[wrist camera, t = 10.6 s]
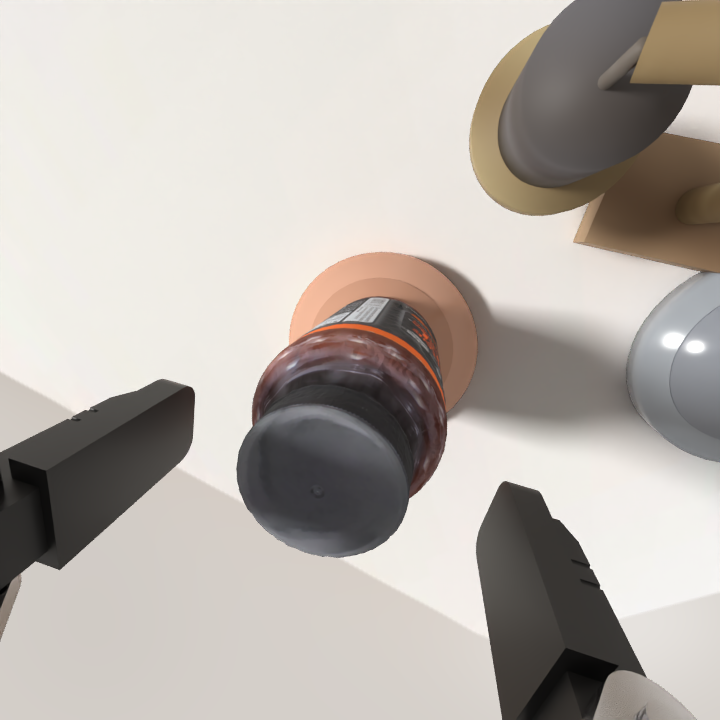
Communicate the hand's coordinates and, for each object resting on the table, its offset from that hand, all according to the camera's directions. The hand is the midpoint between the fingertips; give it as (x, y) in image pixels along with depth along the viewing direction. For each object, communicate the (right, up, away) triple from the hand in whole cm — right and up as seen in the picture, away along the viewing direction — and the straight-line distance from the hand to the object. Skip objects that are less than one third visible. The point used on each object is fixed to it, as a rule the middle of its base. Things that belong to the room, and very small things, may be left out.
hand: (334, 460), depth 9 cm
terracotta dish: (+2, +3, +11) cm, 11 cm away
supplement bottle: (+2, +3, +10) cm, 10 cm away
